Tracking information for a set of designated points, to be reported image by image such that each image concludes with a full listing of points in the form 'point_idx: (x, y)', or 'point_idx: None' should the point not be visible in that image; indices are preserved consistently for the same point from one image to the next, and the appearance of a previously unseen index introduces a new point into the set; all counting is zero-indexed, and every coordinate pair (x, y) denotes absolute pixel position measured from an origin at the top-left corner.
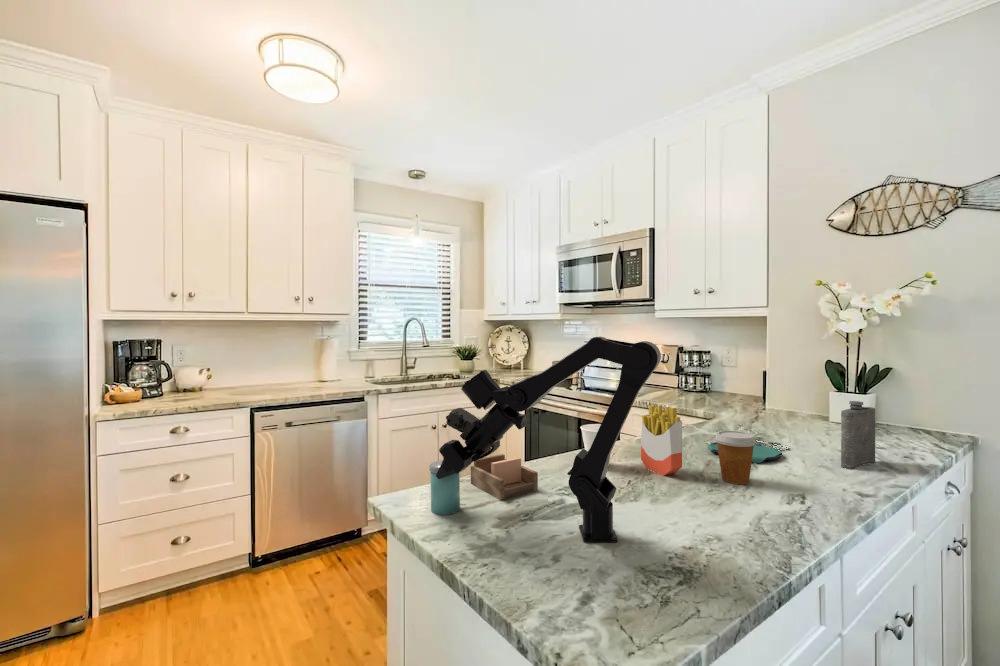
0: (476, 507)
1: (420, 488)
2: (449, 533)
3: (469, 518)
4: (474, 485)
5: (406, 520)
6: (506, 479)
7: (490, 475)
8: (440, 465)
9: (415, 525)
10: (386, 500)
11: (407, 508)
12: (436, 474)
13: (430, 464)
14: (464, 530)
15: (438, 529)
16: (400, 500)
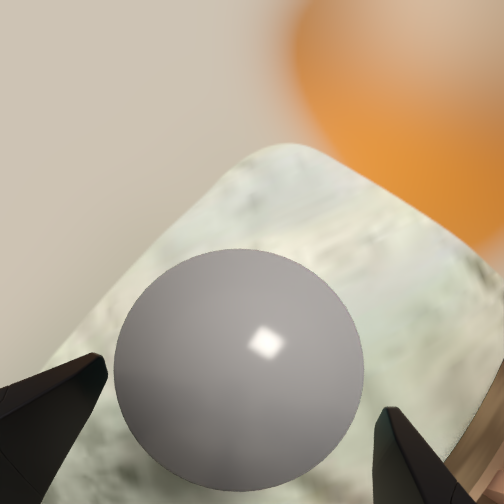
0: (301, 484)
1: (410, 212)
2: (84, 439)
3: (195, 485)
4: (495, 377)
5: (144, 286)
6: (499, 501)
7: (475, 488)
8: (200, 341)
9: (115, 327)
10: (282, 164)
11: (235, 247)
12: (83, 357)
13: (212, 256)
14: (109, 478)
15: (100, 403)
16: (295, 198)
